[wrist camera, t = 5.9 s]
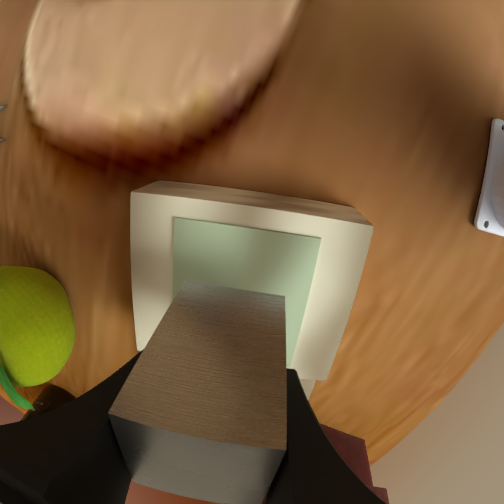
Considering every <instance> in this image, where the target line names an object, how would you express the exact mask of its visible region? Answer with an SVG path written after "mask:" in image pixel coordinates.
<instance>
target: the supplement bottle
mask: <svg viewBox="0 0 504 504" xmlns="http://www.w3.org/2000/svg"><path fill="white" fill-rule="evenodd" d="M74 399H75V398H74V397H73V396H72V395H70V394H69V393H67V392H66V391H64V390H62V389H60V388H57V387H52V386H50V387H46V388H45V389H44V390H43V391H42V392H41V394H40V395H39V396H38V397H37V399H36V400H35V401H34V403H33V404H32V406H33V408H34V409H29V410H28V411H27V412H26V414H25V415H24V416H23V418H22V419H21V421H23V420H26V419H29V418H33V417H36V416H39V415H41V414H44V413H47V412H49V411H51V410H54V409H56V408H58V407H60V406H62V405H65V404H67V403H69V402H71V401H72V400H74Z"/></svg>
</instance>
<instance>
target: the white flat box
mask: <svg viewBox="0 0 504 504" xmlns="http://www.w3.org/2000/svg"><path fill="white" fill-rule="evenodd" d="M373 229H374V226H373V225H372V224H371V223H370V222H369V221H368V220H367V219H366V218H365V217H364V216H363V215H362V214H361V213H360V212H359V211H358V210H357V209H356V208H354V207H349V206H343V205H338V204H332V203H326V202H321V201H315V200H309V199H303V198H297V197H290V196H284V195H277V194H270V193H264V192H256V191H249V190H242V189H234V188H226V187H218V186H210V185H201V184H192V183H183V182H173V181H163V180H158V181H156V182H153V183H151V184H148V185H146V186H143V187H141V188H139V189H136V190H134V191H132V192H131V201H130V252H131V279H132V297H133V311H134V323H135V333H136V343H137V350H138V351H142V350H143V349H144V348H145V346H146V345H147V343H148V341H149V340H150V338H151V336H152V334H153V333H154V331H155V329H156V328H157V326H158V324H159V323H160V321H161V319H162V318H163V316H164V314H165V313H166V311H167V309H168V308H169V306H170V304H171V303H172V301H173V299H174V298H175V296H176V294H177V293H178V291H179V290H180V288H181V286H182V285H183V283H184V281H185V280H187V281H193V282H199V283H205V284H211V285H217V286H223V287H229V288H236V289H242V290H249V291H255V292H262V293H269V294H276V295H283V296H285V313H286V368H289V369H295V370H296V371H297V373H298V376H299V379H300V382H301V385H302V387H303V390H304V392H305V395H306V397H307V399H308V400H309V398H310V395H311V392H312V390H313V387H314V384H315V381H316V380H317V381H326V380H327V377H328V374H329V372H330V369H331V366H332V364H333V361H334V358H335V356H336V353H337V350H338V347H339V344H340V342H341V339H342V336H343V333H344V330H345V327H346V324H347V321H348V318H349V315H350V312H351V308H352V305H353V302H354V299H355V295H356V292H357V289H358V285H359V282H360V278H361V275H362V271H363V268H364V264H365V260H366V257H367V253H368V249H369V245H370V241H371V237H372V233H373Z"/></svg>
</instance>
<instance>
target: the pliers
mask: <svg viewBox="0 0 504 504" xmlns="http://www.w3.org/2000/svg"><path fill="white" fill-rule="evenodd" d="M6 107H7V105H3V106H0V111H2V110H3V109H4V108H6ZM2 141H6V139H4V138H0V142H2Z"/></svg>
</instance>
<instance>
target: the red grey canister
mask: <svg viewBox="0 0 504 504" xmlns="http://www.w3.org/2000/svg"><path fill="white" fill-rule="evenodd" d="M320 425H321V427H322V429H323V430H324V432H325V434H326V435H327V437H328V439H329V440H330V442H331V443H332V445H333V446H334V448H335V449H336V451H337V452H338V453H339V455H340V456H341V457H342V459H343V460H344V461H345V462H346V464H347V465H348V466H349V467H350V469H351V470H352V471H353V472H354V473H355V474H356V475H357V476H358V477H359V478H360V480H361V481H362V482H363V483H364V484H365V485H366V486H367V487H368V488H369V489H370V490H371V491H372V492H373V493H375V494H376V495H377V496H378V497H379V498H380V499H381V500H382V501H384V502H385V503H386V504H389V500H388V494H387V490H386V488H379V487H374V486H373V483H372V477H371V472H370V466H369V461H368V456H367V450H366V445H365V441H364V440H363V439H360V438H357V437H354V436H352V435H349V434H346V433H343V432H341V431H338V430H335V429H333V428H330V427H328V426H325V425H323V424H320ZM264 503H265V497H264V499H263V501H262V503H261V504H264Z"/></svg>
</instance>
